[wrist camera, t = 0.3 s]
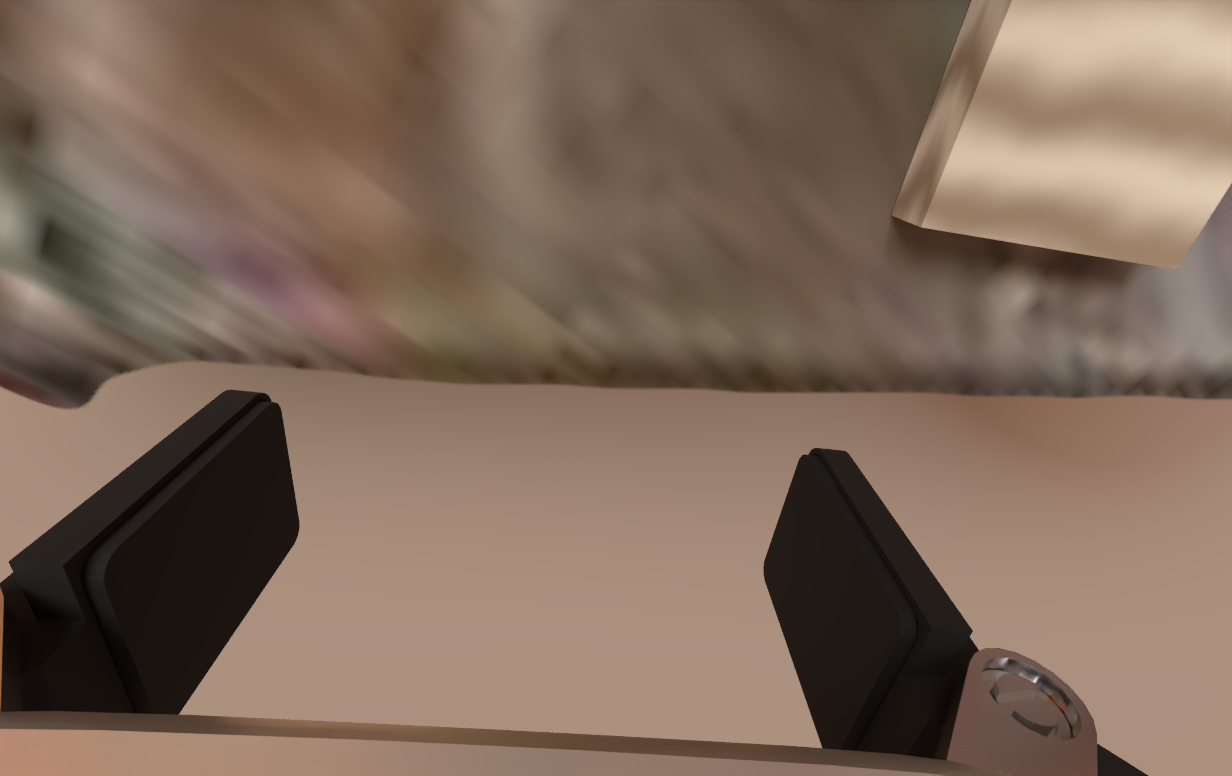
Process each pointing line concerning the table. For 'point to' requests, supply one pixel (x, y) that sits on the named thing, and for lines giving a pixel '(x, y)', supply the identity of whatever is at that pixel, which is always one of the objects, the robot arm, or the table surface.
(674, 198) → the table surface
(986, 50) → the birch plinth
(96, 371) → the table surface
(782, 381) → the table surface
